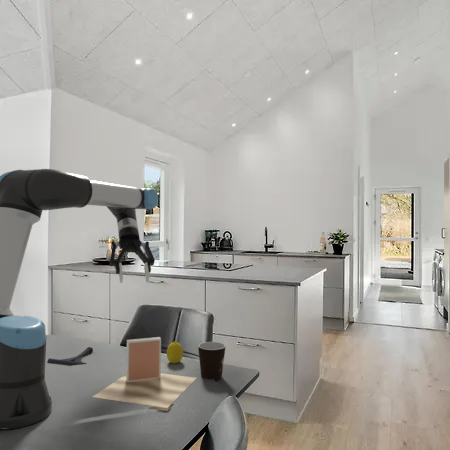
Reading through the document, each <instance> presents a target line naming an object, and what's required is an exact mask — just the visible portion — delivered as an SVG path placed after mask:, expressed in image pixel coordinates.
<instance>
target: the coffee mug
mask: <svg viewBox="0 0 450 450" xmlns="http://www.w3.org/2000/svg"><path fill="white" fill-rule="evenodd" d="M197 348H198V357H199V367H200V369H199V370H200V377H201V378H203V379H207V380H214V381H215V382H218V381H220V380H222V378H223V372H224V371H223V369H224V361H225V355H226V354H225V353H226V344H225V343H223V342H219V341H204V342H201V343H199V344H198V345H197Z"/></svg>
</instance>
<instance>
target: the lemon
mask: <svg viewBox="0 0 450 450" xmlns="http://www.w3.org/2000/svg"><path fill="white" fill-rule="evenodd" d="M183 357H184V349H183V346H182V345H181V343H179V342H177V341H176V340H175V341H173V342H171V343H170V344H169V345H168V347H167V349H166V358H167V360H168V361H169V362H170V363H171V364H178V363H180V362H181V361H182V360H183Z"/></svg>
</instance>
